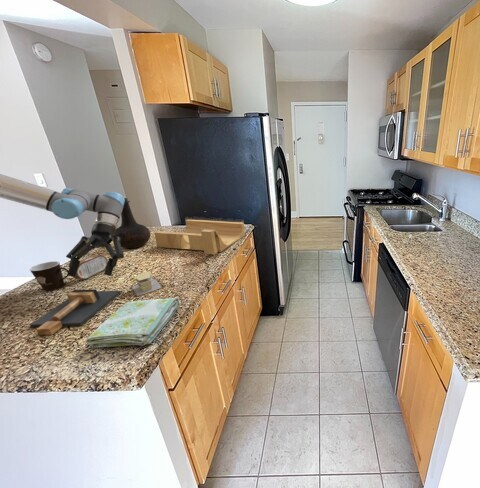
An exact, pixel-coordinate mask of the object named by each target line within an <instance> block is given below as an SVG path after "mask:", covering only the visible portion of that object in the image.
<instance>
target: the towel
mask: <svg viewBox="0 0 480 488" xmlns="http://www.w3.org/2000/svg"><path fill="white" fill-rule="evenodd" d="M179 305H180V300H179V299H178V298H177V297H174V298H173V297H170V298H158V299H145V300H143V299H142V300H133V301H128V302H126V303H124V304H123V305H121V306H120V307H119V308H117V310H116V311H115V312H114V313H112V314H111V315H110V316H109V317H108V318H107V319H106V320H105V321H103V322H102V323H101V324H100V325H99V326H98V327H97V328H96V329H95V330H94V331H93V332H92V333H91V334H90V335H89V336H88V337H87V338H86V339H85V341H84V342H85V343H86V344H87V345H89V346H90V347H91V348H94V349H96V348H106V347H107V348H108V347H109V348H110V347H111V348H112V347H125V346H139V347H143V346H145V345H150V344H152V342H154V340H155V339H156V338H157V336H158V335H159V334H160V332H161V331H162V330H163V328H165V326H166V325H167V323H168V322H169V321H170V320H171V318H173V316H174V315H175V313H176V311H177V310H178V307H179Z"/></svg>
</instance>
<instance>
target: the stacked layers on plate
mask: <svg viewBox="0 0 480 488" xmlns="http://www.w3.org/2000/svg"><path fill="white" fill-rule="evenodd" d="M152 277H153V275H152V272H151V271H143V272H141V273H139V274H136V275H135V276H134V278H135V279H134V280H135V282H136V284H135V285H133V286H131V288H132V290H133V292H134V294H135V295H136V296H137V297H138V296H139V297H140V296H142V295H145V294H147V293H151V292H154V291H157V290H159V289H163V286H162V285H161V284H160V283H159V282H158V280H157V279H153V278H152Z"/></svg>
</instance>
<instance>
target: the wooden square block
mask: <svg viewBox="0 0 480 488" xmlns="http://www.w3.org/2000/svg"><path fill="white" fill-rule="evenodd" d="M63 327H64V326H62V324H61V321H47V322H46V323H44V324H43V325H41V326H40V327H36V328H35V330H36V333H37V334H38V336H52V335H54V334H55V333H56V332H58V331H59V330H60V329H62V328H63Z"/></svg>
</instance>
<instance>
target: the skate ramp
mask: <svg viewBox="0 0 480 488" xmlns="http://www.w3.org/2000/svg"><path fill="white" fill-rule="evenodd" d="M184 219H185V230H183V231H182V232H181V230H179V229H178V230H177V229H176V231H170V230H168V229H161V230H159V229H153V231H154V233H153V234H154V239H155V242H156V245H157V246H156V247H157V248H166V249H167V248H168V249H178V250H179V249H181V250H194V251H203V252H204V256H205V258H206V257H207V256H210V255H211V256H213V258H214V259H215V258H216V256H217V257H218V256H219V255H218V254H219V253H221V252H223V251H224V250H226V249H227V248H229V247H230V246H232V245H233V244H235V243H236V242H238V241H239V240H240V239H242V238H244V237H245V236H246V231H245V223H244V219H242V221H241V220H239V219H236V221H232V219H228V221H226V220H222V218H219V217H218V218H216V217H215V220H214V218H213V219H212V218H211V219H204V217H202V216H201V219H200V218H197V217H194V219H192V218H187V216H186V217H185V218H184ZM218 252H219V253H218Z"/></svg>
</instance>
